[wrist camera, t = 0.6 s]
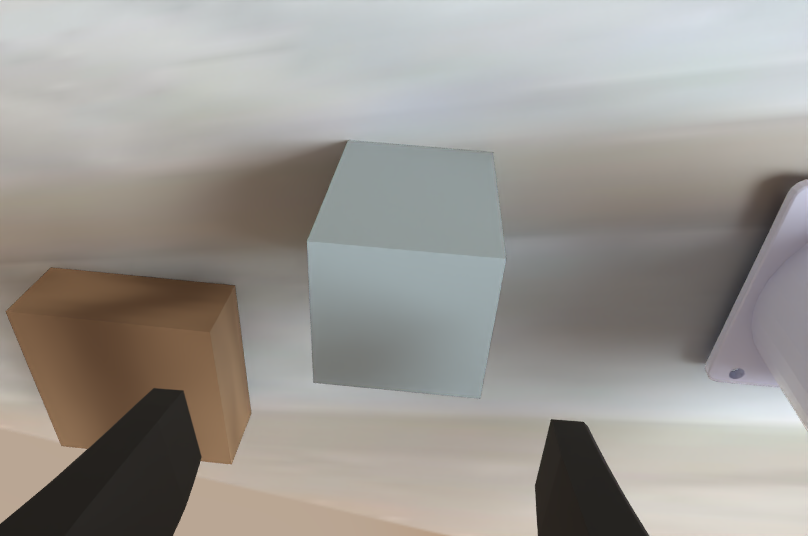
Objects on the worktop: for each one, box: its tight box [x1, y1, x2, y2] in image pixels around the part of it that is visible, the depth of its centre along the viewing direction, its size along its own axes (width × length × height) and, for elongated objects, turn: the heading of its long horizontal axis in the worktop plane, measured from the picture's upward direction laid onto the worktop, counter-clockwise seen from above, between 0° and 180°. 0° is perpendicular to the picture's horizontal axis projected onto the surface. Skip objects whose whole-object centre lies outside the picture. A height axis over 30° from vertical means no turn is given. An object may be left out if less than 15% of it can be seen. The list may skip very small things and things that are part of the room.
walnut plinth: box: [6, 267, 251, 464], centre depth 23 cm, size 7×7×3 cm
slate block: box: [307, 140, 506, 399], centre depth 17 cm, size 4×4×6 cm
